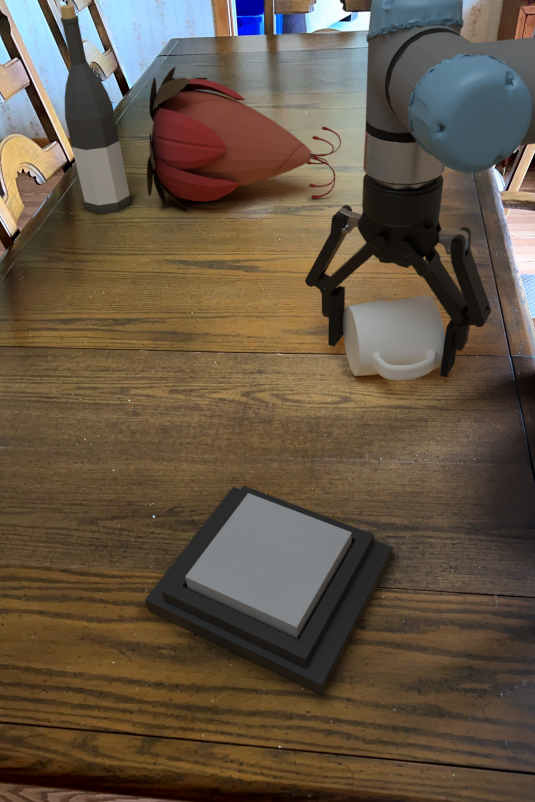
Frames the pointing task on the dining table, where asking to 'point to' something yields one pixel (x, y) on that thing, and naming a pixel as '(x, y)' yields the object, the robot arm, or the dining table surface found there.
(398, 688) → the dining table surface
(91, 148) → the wine bottle
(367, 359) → the mug
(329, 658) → the black stepped plinth
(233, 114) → the decorative flower
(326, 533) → the grey tile on plinth
